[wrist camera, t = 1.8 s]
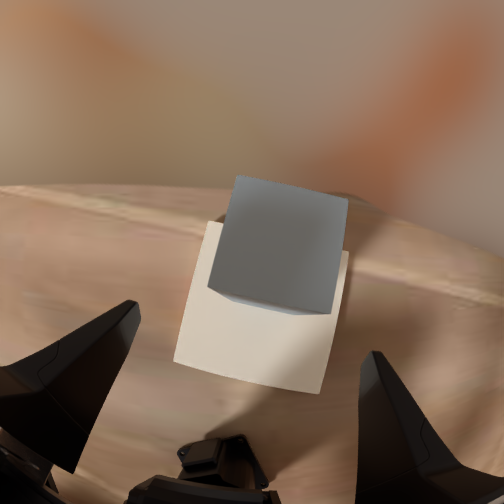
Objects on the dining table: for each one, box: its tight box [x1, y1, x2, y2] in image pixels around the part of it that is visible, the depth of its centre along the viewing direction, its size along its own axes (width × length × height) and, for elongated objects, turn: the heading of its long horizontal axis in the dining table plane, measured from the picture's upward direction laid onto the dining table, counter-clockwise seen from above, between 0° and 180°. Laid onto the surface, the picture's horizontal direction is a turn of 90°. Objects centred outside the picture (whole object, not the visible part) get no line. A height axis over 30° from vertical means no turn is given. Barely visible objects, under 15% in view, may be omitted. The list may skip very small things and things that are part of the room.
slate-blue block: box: [207, 175, 349, 315], centre depth 17 cm, size 5×5×11 cm
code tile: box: [173, 221, 349, 394], centre depth 22 cm, size 12×12×1 cm
